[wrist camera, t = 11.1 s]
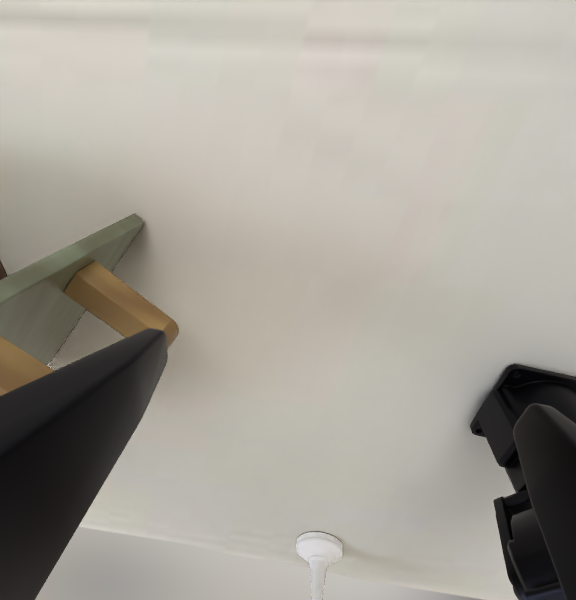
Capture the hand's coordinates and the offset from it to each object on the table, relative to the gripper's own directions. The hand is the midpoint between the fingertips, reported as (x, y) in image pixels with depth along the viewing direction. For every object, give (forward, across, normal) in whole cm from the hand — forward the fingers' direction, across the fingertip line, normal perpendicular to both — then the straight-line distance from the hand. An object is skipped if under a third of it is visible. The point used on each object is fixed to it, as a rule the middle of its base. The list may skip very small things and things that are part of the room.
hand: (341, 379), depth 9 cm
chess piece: (+13, -6, +34) cm, 37 cm away
